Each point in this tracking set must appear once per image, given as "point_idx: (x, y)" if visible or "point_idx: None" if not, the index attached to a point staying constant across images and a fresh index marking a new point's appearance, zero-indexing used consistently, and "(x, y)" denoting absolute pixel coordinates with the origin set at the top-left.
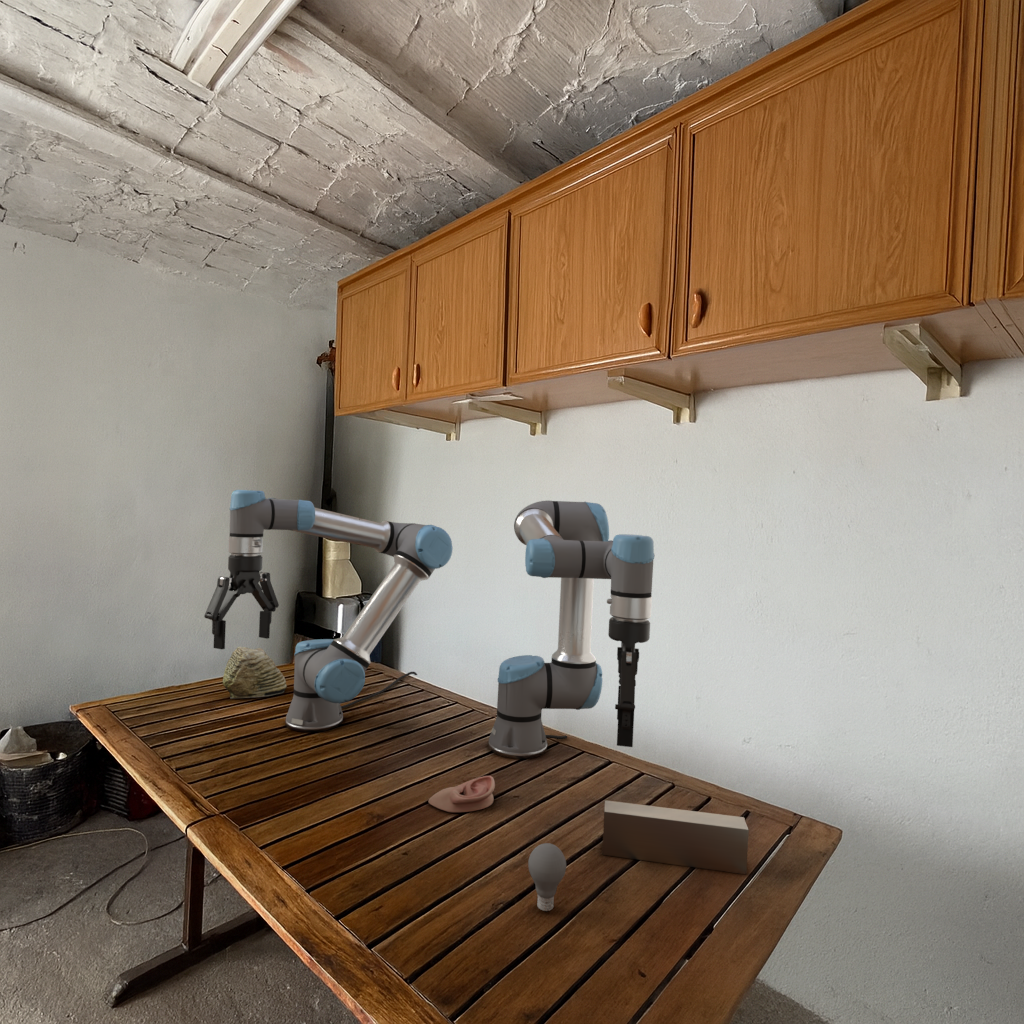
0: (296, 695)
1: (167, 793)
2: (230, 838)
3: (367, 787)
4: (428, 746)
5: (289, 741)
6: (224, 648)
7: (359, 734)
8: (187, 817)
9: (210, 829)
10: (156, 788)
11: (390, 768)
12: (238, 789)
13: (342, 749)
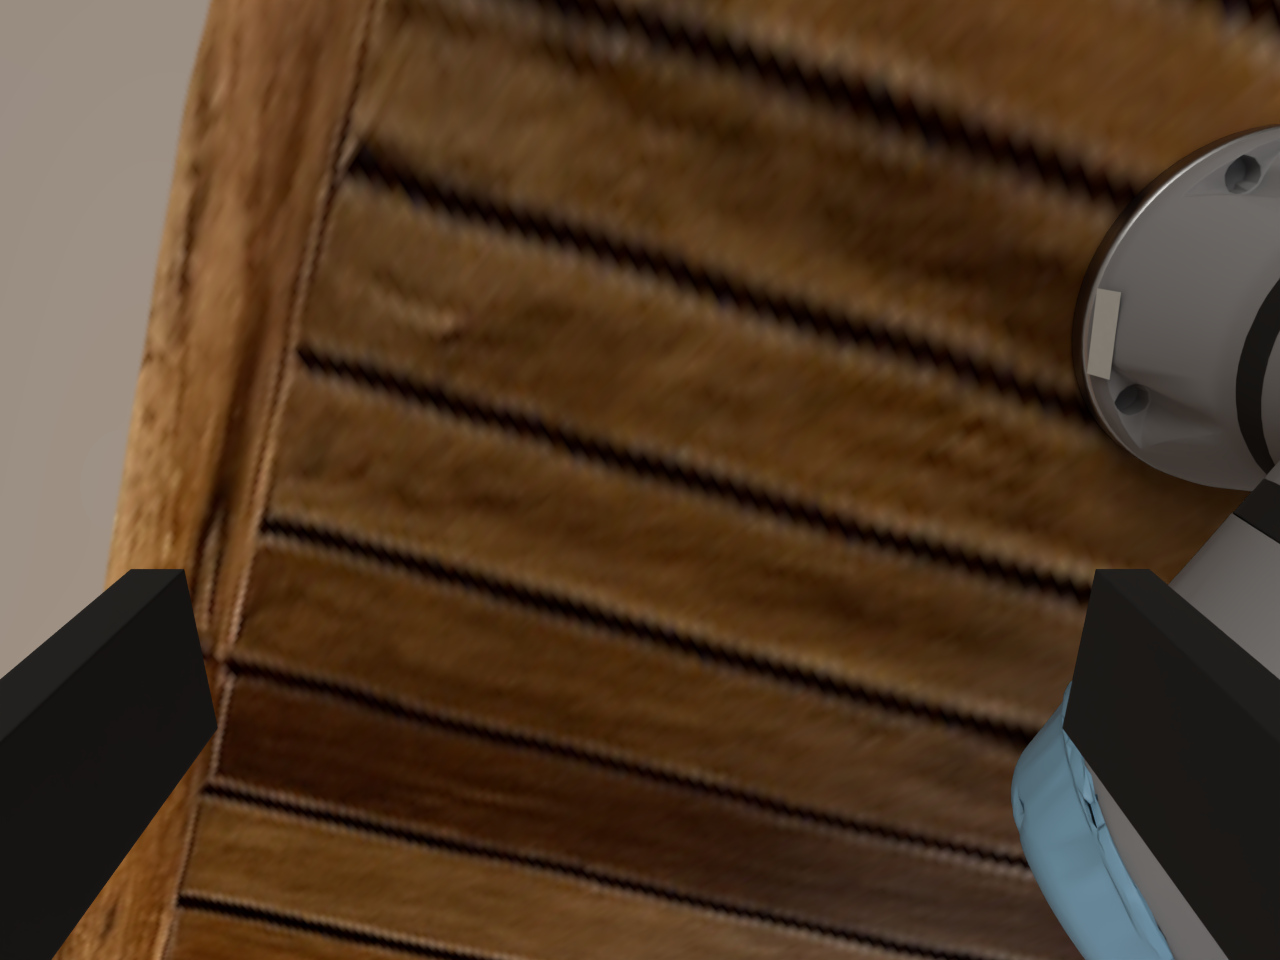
0: (1266, 301)
1: (181, 357)
2: None
3: (668, 927)
4: None
5: (927, 390)
6: (208, 732)
7: None
8: None
9: None
10: (173, 269)
11: (849, 911)
12: (391, 578)
13: (942, 668)
